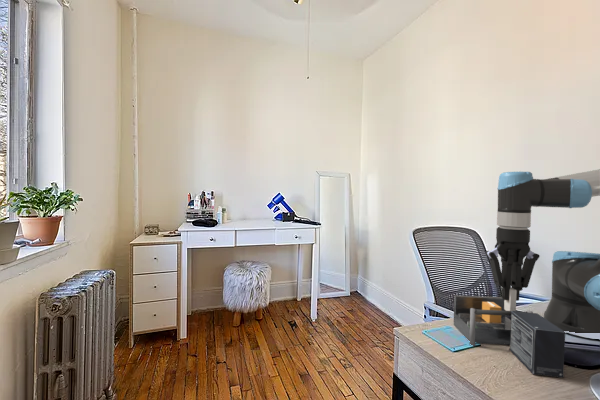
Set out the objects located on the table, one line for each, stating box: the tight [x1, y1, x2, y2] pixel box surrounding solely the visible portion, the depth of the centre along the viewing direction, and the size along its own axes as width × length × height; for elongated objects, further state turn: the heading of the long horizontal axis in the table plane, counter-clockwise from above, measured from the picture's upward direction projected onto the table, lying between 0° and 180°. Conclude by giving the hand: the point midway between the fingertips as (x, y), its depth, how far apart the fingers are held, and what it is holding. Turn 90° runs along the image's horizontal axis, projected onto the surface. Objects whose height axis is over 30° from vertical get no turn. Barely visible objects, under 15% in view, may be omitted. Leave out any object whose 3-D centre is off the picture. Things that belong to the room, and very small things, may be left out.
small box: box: [509, 310, 566, 379], centre depth 68 cm, size 11×6×10 cm, turn 168°
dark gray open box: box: [453, 294, 511, 346], centre depth 82 cm, size 14×10×9 cm
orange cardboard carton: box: [482, 302, 501, 323], centre depth 81 cm, size 3×4×5 cm
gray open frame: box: [469, 308, 534, 347], centre depth 76 cm, size 15×1×10 cm, turn 84°
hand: (509, 311), depth 80 cm, fingers closed
